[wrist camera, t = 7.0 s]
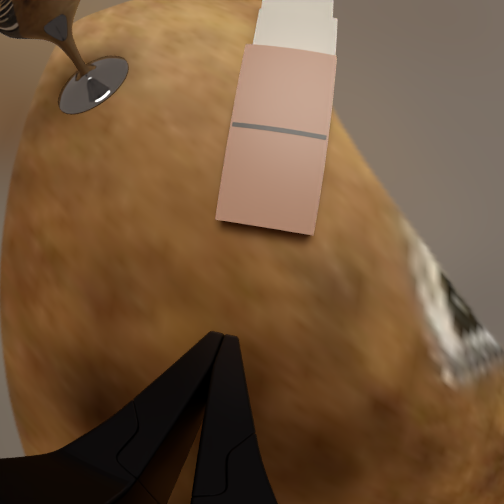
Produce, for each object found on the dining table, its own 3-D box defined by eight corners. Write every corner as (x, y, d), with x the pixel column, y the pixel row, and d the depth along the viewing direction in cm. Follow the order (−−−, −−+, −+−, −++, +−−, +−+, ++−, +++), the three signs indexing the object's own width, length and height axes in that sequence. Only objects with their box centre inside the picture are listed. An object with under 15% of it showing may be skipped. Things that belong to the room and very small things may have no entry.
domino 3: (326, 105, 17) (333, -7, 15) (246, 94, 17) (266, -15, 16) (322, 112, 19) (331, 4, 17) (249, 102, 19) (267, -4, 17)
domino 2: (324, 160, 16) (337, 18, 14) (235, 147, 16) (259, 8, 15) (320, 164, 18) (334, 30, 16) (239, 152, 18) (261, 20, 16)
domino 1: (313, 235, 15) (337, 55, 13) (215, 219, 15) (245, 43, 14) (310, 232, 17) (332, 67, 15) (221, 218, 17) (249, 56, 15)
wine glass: (148, 51, 21) (97, -88, 6) (104, 119, 19) (6, -33, 5) (83, 56, 22) (23, -51, 7) (40, 118, 20) (-50, 11, 6)
